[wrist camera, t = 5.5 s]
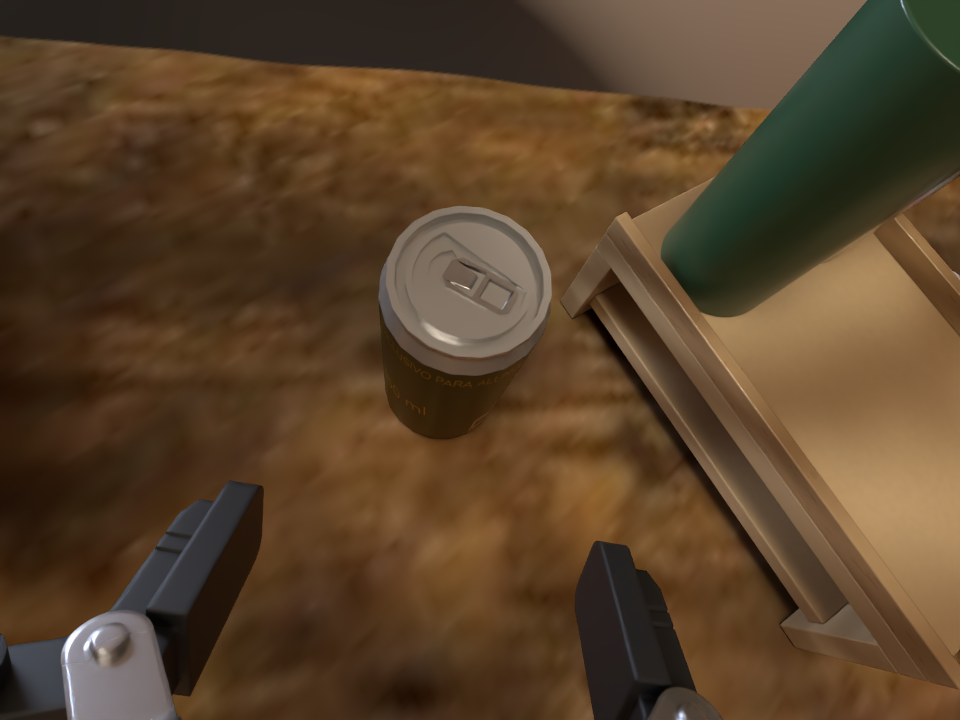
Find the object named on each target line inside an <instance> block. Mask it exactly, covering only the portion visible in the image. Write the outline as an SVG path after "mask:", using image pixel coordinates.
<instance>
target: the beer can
mask: <svg viewBox="0 0 960 720" xmlns="http://www.w3.org/2000/svg"><path fill="white" fill-rule="evenodd" d="M551 297H552V293H551V272H550V269H549V266H548V264H547V261H546V258H545V256H544V253H543V251H542V249H541V248H540V247H539V245H538V244H537V243H536V241H535V240H534V239H533V238H532V236H531V235H530V234H529V232H528V231H526V230H525V229H524V228H522V227H521V226H520V225H518V224H517V223H515V222H514V221H513V220H511V219H510V218H509V217H507V216H504V215H501V214H499V213H496V212H493V211H491V210H488V209H485V208H478V207H467V206H456V207H450V208H445V209H440V210H435V211H433V212H431V213H429V214H427V215H425V216H423V217H421V218H420V219H418V220H416V221H414V222H413V223H412V224H411V225H410V226H409V227H408V228H407V229H406V230H405V231H404V232H403V233H402V234H401V235H400V236H399V237H398V238H397V240H396V242H395V245H394V247H393V249H392V251H391V252H390V255H389V257H388V259H387V261H386V263H385V266H384V268H383V270H382V272H381V274H380V287H379V312H380V325H381V338H382V352H383V365H384V379H385V390H386V394H387V397H388V401H389V405H390V407H391V408H392V410H393V411H394V413H395V414H396V416H397V417H398V419H399V420H400V421H401V422H402V423H403V424H405V425H406V426H407V427H409V428H410V429H411V430H412V431H414V432H416V433H419V434H422V435H425V436H427V437H430V438H452V437H456V436H459V435H463V434H466V433H467V432H469V431H470V430H472V429H473V428H475V427H476V426H478V425H479V424H481V422H482V421H483V420H484V418H485V417H486V416H487V415H488V413H489V412H490V411H491V409H492V408H493V406H494V405H495V403H496V402H497V400H498V399H499V398H500V396H501V395H502V393H503V392H504V390H505V389H506V387H507V386H508V385H509V383H510V382H511V380H512V379H513V377H514V376H515V374H516V373H517V371H518V370H519V369H520V367H521V366H522V364H523V363H524V361H525V360H526V358H527V357H528V355H529V354H530V353H531V351H532V350H533V348H534V347H535V345H536V344H537V342H538V341H539V340H540V338H541V337H542V335H543V333H544V330H545V326H546V323H547V320H548V317H549V314H550V300H551Z"/></svg>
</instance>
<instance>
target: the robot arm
mask: <svg viewBox="0 0 960 720" xmlns="http://www.w3.org/2000/svg"><path fill="white" fill-rule="evenodd" d="M263 497H264V489H263V486H260V485H254V484H248V483H242V482H235V481H229V482H227V483H226V485H225V486H224V488H223V489H222V491H221V492H220V494H219V496H218V497H217V499H216V500H215V502H213V501H207V500H200V499H199V500H198V501H196V502H195V503H194V504H192V505H191V506H189V507H188V508H186V509H185V510H183V511H182V512H181V513H179V514H178V516H177V517H176V519H175V520H174V521H173V523H172V524H171V526H170V527H169V528H168V530H167V531H166V534H165V535H163V537H162V538H161V540H160V541H159V542H158V544H157V545H156V547H155V550H153V551H152V552H151V554H150V555H149V556H148V558H147V559H146V561H145V562H144V564H143V565H142V566H141V568H140V569H139V571H138V572H137V573H136V575H135V576H134V578H133V579H132V580H131V582H130V583H129V585H128V586H127V587H126V589H125V590H124V592H123V593H122V594H121V596H120V597H119V599H118V600H117V602H116V603H115V604H114V606H113V607H112V608H111V609H110V611H109V612H107V613H103V614H101V615H98V616H96V617H94V618H92V619H90V620H88V621H87V622H85V623H84V624H82V625H81V626H80V627H78V628H77V629H76V630H75V631H74V632H73V633H72V634H71V635H69V636H66V637H63V638H58V639H53V640H46V641H39V642H32V643H25V644H18V645H10V646H7V643H6V641H5V638H4V637H3V636H2V634H1V633H0V720H182V719H181V717H177V714H176V711H175V707H174V703H173V700H172V695H173V694H175V695H183V696H191V693H192V691H193V689H194V687H195V685H196V683H197V681H198V679H199V677H200V675H201V673H202V671H203V668H204V666H205V664H206V662H207V660H208V658H209V656H210V654H211V652H212V650H213V648H214V646H215V643H216V641H217V639H218V637H219V635H220V633H221V631H222V629H223V627H224V625H225V623H226V621H227V618H228V616H229V614H230V612H231V610H232V608H233V606H234V604H235V602H236V600H237V598H238V596H239V593H240V591H241V589H242V587H243V585H244V583H245V581H246V579H247V577H248V575H249V573H250V571H251V568H252V566H253V564H254V562H255V560H256V557H257V554H258V551H259V547H260V543H261V537H262V520H263ZM575 612H576V618H577V623H578V629H579V635H580V640H581V646H582V652H583V657H584V663H585V669H586V675H587V680H588V686H589V692H590V697H591V703H592V709H593V714H594V720H723V719H722V717H721V715H720V714H719V712H718V711H717V710H716V709H715V707H714V706H713V705H712V704H711V703H710V702H709V701H708V700H706V699H705V698H704V697H703V696H701V695H699V694H698V693H697V691H696V688H695V686H694V683H693V680H692V677H691V674H690V671H689V669H688V666H687V663H686V660H685V657H684V654H683V652H682V649H681V646H680V643H679V640H678V637H677V635H676V632H675V630H674V629H673V623H672V620H671V618H670V615H669V613H667V606H666V603H665V601H664V598H663V595H662V592H661V589H660V588H659V587H658V585H657V584H656V583H655V582H654V580H653V579H652V578H651V576H650V575H649V574H648V572H647V571H644V570H637V569H635V566H634V562H633V559H632V556H631V553H630V550H629V548H628V547H627V546H626V545H620V544H614V543H608V542H602V541H596V542H594V544H593V546H592V548H591V551H590V553H589V556H588V558H587V561H586V564H585V566H584V569H583V571H582V574H581V576H580V579H579V582H578V585H577V588H576V594H575Z"/></svg>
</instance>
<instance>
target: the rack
mask: <svg viewBox="0 0 960 720" xmlns="http://www.w3.org/2000/svg"><path fill="white" fill-rule="evenodd" d="M959 176H960V0H867V2H866V3H865V4H864V5H863V6H862V8H860V10H859V11H858V12H857V13H856V14H855V16H854V17H853V18H852V19H851V20H850V21H849V22H848V24H847V25H846V26H845V27H844V28H843V29H842V31H841V32H840V33H839V34H838V35H837V36H836V37H835V39H834V40H833V41H832V42H831V43H830V44H829V46H828V47H827V48H826V49H825V50H824V51H823V53H822V54H821V55H820V56H819V57H818V58H817V60H816V61H815V62H814V63H813V64H812V65H811V67H810V68H809V69H808V70H807V71H806V72H805V73H804V75H803V76H802V77H801V78H800V79H799V80H798V82H797V83H796V84H795V85H794V86H793V87H792V89H791V90H790V91H789V92H788V93H787V95H786V96H785V97H784V98H783V99H782V100H781V101H780V102H779V104H778V105H777V106H776V107H775V108H774V109H773V111H772V112H771V113H770V114H769V115H768V116H767V118H766V119H765V120H764V121H763V122H762V123H761V125H760V126H759V127H758V128H757V129H756V130H755V131H754V133H753V134H752V135H751V136H750V137H749V138H748V140H747V141H746V142H745V143H744V144H743V145H742V147H741V148H740V149H739V150H738V151H737V152H736V154H735V155H734V156H733V157H732V158H731V159H730V160H729V162H728V163H727V164H726V165H725V166H724V167H723V169H722V170H721V171H720V172H719V173H718V174H717V176H716V177H714V178H712V179H710V180H708V181H706V182H704V183H702V184H700V185H698V186H696V187H694V188H692V189H690V190H688V191H687V192H685V193H683V194H681V195H679V196H677V197H675V198H673V199H671V200H669V201H667V202H665V203H663V204H661V205H659V206H657V207H655V208H653V209H651V210H649V211H647V212H645V213H644V214H642V215H640V216H638V217H636V218H634V219H631V217H630V216H629V215H628V213H627V212H625V213H623V214H621V215H619V216H617V217H616V218H615V219H614V221H613V222H612V224H611V225H610V227H609V228H608V230H607V231H606V233H605V235H604V236H603V238H602V239H601V241H600V242H599V244H598V245H597V247H596V248H595V249H594V251H593V252H592V254H591V255H590V257H589V258H588V260H587V261H586V263H585V264H584V266H583V267H582V269H581V270H580V272H579V273H578V275H577V276H576V278H575V279H574V281H573V282H572V284H571V285H570V287H569V288H568V290H567V291H566V293H565V294H564V296H563V297H562V299H561V300H560V301H561V303H562V304H563V306H564V307H565V309H566V310H567V312H568V313H569V315H570V316H571V318H575V317H576V316H578V315H580V314H582V313H584V312H585V311H587V310H589V309H591V308H593V310H594V311H595V313H596V314H597V316H598V317H599V318H600V320H601V321H602V323H603V324H604V326H605V327H606V329H607V330H608V332H609V333H610V334H611V336H612V337H613V339H614V340H615V342H616V343H617V345H618V346H619V347H620V349H621V350H622V352H623V353H624V355H625V356H626V358H627V359H628V361H629V362H630V363H631V365H632V366H633V368H634V369H635V371H636V372H637V374H638V375H639V376H640V378H641V379H642V381H643V382H644V384H645V385H646V387H647V388H648V390H649V391H650V392H651V394H652V395H653V397H654V398H655V400H656V401H657V403H658V404H659V405H660V407H661V408H662V410H663V411H664V413H665V414H666V416H667V417H668V419H669V420H670V421H671V423H672V424H673V426H674V427H675V429H676V430H677V432H678V433H679V434H680V436H681V437H682V439H683V440H684V442H685V443H686V445H687V446H688V448H689V449H690V450H691V452H692V453H693V455H694V456H695V458H696V459H697V461H698V462H699V463H700V465H701V466H702V468H703V469H704V471H705V472H706V474H707V475H708V477H709V478H710V479H711V481H712V482H713V484H714V485H715V487H716V488H717V490H718V491H719V492H720V494H721V495H722V497H723V498H724V500H725V501H726V503H727V504H728V506H729V507H730V508H731V510H732V511H733V513H734V514H735V516H736V517H737V519H738V520H739V521H740V523H741V524H742V526H743V527H744V529H745V530H746V532H747V533H748V535H749V536H750V537H751V539H752V540H753V542H754V543H755V545H756V546H757V548H758V549H759V550H760V552H761V553H762V555H763V556H764V558H765V559H766V561H767V562H768V564H769V565H770V566H771V568H772V569H773V571H774V572H775V574H776V575H777V577H778V578H779V579H780V581H781V582H782V584H783V585H784V587H785V588H786V590H787V591H788V593H789V594H790V595H791V597H792V598H793V600H794V601H795V603H796V604H797V606H798V607H799V609H798V610H797V611H795V612H794V613H793V614H792V615H791V616H790V617H788V618H787V619H786V620H785V621H784V622H782V623H781V627H782V629H783V630H784V632H785V633H786V635H787V636H788V637H789V639H790V640H791V642H792V643H793V645H794V646H795V647H796V648H799V649H803V650H807V651H811V652H815V653H819V654H823V655H827V656H831V657H834V658H838V659H842V660H846V661H850V662H854V663H858V664H862V665H866V666H870V667H874V668H878V669H881V670H885V671H889V672H893V673H897V674H898V673H900V674H901V675H905V676H909V677H913V678H916V679H920V680H924V681H929V682H932V683H936V684H940V685H943V686H947V687H951V688H955V689H960V665H959V663H958V662H957V661H956V659H955V658H954V657H953V656H954V655H955V654H956V653H957V652H958V651H959V650H960V280H959V278H958V277H957V276H956V275H955V274H954V273H953V272H952V270H951V269H950V268H949V267H948V266H947V265H946V263H945V262H944V261H943V260H942V259H941V258H940V256H939V255H938V254H937V253H936V252H935V251H934V249H933V248H932V247H931V246H930V245H929V244H928V242H927V241H926V240H925V239H924V238H923V237H922V235H921V234H920V233H919V232H918V231H917V230H916V228H915V227H914V226H913V225H912V224H911V223H910V222H909V220H908V219H907V218H906V217H905V216H904V215H903V213H905V212H906V211H908V210H909V209H911V208H912V207H914V206H915V205H917V204H918V203H920V202H921V201H923V200H924V199H926V198H927V197H929V196H930V195H932V194H933V193H935V192H937V191H938V190H940V189H941V188H943V187H944V186H946V185H947V184H949V183H950V182H952V181H953V180H955V179H956V178H958V177H959Z"/></svg>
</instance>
